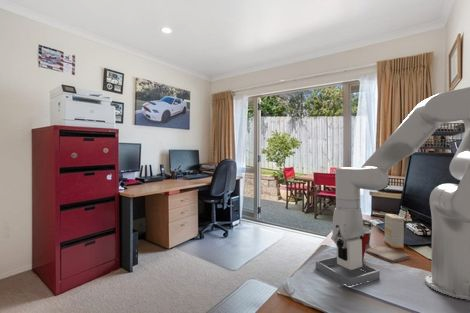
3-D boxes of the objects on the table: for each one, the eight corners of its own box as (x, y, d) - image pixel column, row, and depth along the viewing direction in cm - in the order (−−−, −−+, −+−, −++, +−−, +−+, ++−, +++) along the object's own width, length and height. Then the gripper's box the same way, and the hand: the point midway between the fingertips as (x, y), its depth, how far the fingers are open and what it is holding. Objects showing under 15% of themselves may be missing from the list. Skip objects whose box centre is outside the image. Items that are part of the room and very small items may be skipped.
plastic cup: (378, 262, 90) (378, 230, 90) (352, 264, 88) (353, 232, 88) (357, 251, 101) (358, 222, 101) (334, 253, 99) (335, 223, 99)
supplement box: (404, 248, 104) (404, 218, 104) (391, 247, 105) (392, 217, 105) (395, 242, 112) (395, 213, 112) (384, 241, 113) (384, 213, 113)
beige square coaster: (410, 257, 95) (410, 255, 95) (392, 262, 90) (392, 260, 90) (382, 248, 105) (382, 245, 105) (365, 252, 100) (365, 249, 100)
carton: (362, 266, 80) (361, 239, 80) (350, 270, 78) (350, 242, 78) (348, 260, 85) (347, 234, 85) (337, 263, 83) (336, 237, 83)
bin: (379, 278, 79) (379, 270, 79) (349, 288, 73) (349, 279, 73) (343, 261, 91) (343, 254, 91) (315, 268, 85) (315, 261, 85)
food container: (371, 241, 113) (372, 219, 113) (373, 245, 108) (373, 223, 108) (343, 237, 119) (343, 216, 119) (342, 241, 113) (343, 219, 113)
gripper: (355, 199, 89) (357, 249, 89) (320, 204, 82) (321, 258, 81) (375, 203, 82) (376, 256, 82) (338, 208, 75) (340, 267, 75)
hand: (349, 256), depth 82 cm, fingers closed on carton, 5 cm apart
